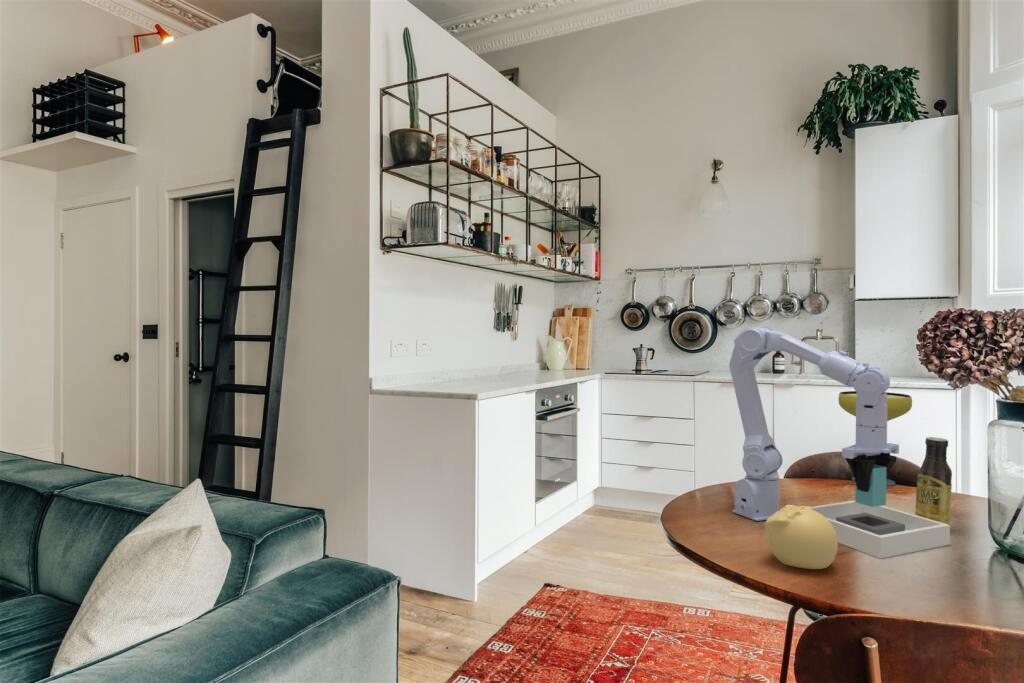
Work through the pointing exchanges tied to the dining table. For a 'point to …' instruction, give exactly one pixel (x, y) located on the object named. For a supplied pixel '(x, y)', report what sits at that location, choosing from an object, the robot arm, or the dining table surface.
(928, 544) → the box
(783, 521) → the sculpture
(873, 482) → the block
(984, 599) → the dining table surface
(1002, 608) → the dining table surface
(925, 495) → the sauce bottle
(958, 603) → the dining table surface
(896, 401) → the cocktail glass
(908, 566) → the dining table surface
